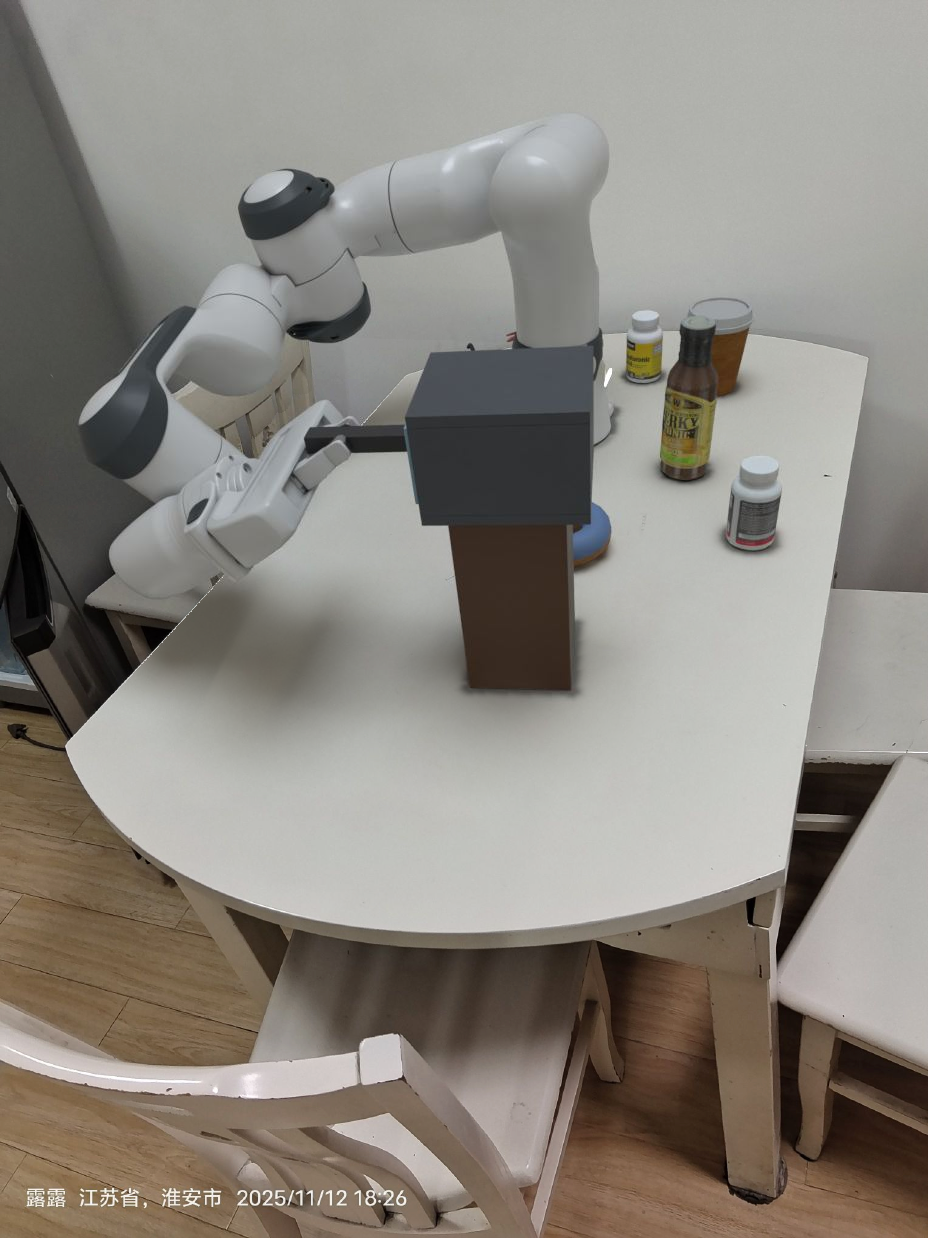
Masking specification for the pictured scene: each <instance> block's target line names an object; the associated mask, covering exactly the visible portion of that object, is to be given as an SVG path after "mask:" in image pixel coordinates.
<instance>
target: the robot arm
mask: <svg viewBox="0 0 928 1238" xmlns="http://www.w3.org/2000/svg"><path fill="white" fill-rule="evenodd" d="M609 166H610V146H609V141H608V137H607V135H606V133H605V132H604V130H603V127H601V125H600V124H599V123H598V122H597V121H596V120H594V119H593V118H592V117H590V116H588V115H587V114H583V113H579V112H561V113H557V114H553V115H549V116H546V117H542V118H539V119H535V120H531V121H528V122H526V123H521V124H519V125H516V126H511V127H509V128H505V129H503V130H499V131H497V132H494V133H490V134H487V135H484V136H482V137H479V138H475V139H473V140H469V141H466V142H464V143H461V144H457V145H454V146H450V147H446V148H442V149H438V150H434V151H429V152H426V153H421V154H417V155H412V156H408V157H404V158H401V159H397V160H393V161H390V162H386V163H382V164H379V165H377V166H374V167H372V168H369V169H367V170H364V171H362V172H360V173H357V174H355V175H354V176H352V177H350V178H347V179H346V180H344V181H342V182H341V183H339V185H337V187H335V185H334V183H332V181H330V180H329V179H328V178H325V177H320V176H315V175H313V174H312V173H310V172H307V171H303V170H300V169H296V168H281V169H277V170H274V171H271V172H268V173H266V174H264V175H262V176H260V177H258V178H257V179H256V180H255V181H254V182H252V183H251V184H249V186H248V187H247V188H246V189H245V190H244V191H243V193H242V195H241V197H240V200H239V202H238V204H237V211H238V217H239V220H240V223H241V226H242V228H243V231H244V234H245V236H246V238H248V239H250V241H251V244H252V247H253V250H254V251H255V253H256V256H257V258H258V260H259V261H260V265H259V266H258V265H257V264H256V265H255V264H252V263H245V262H241V263H235V264H231V265H228V266H226V267H224V268H223V269H221V270H220V271H219V272H218V273H217V275H216V276H215V277H214V278H213V279H212V280H211V282H210V283H209V285H208V286H207V288H206V289H205V291H204V293H203V294H202V296H201V298H200V300H199V303H198V305H197V307H193V306H189V305H182V306H180V307H178V308H176V309H175V310H173V311H171V312H170V313H168V314H167V315H166V316H165V317H164V318H162V319H161V321H160V322H158V323H157V324H156V326H155V327H153V329H151V331H150V332H149V333H148V334H147V336H146V337H145V338H144V339H143V340H142V341H141V342H140V344H139V345H138V346H137V347H136V348H135V350H134V351H133V352H132V354H131V355H130V356H129V358H127V360H126V361H125V363H124V364H123V365H122V366H121V368H119V370H118V371H117V372H116V374H114V376H113V378H112V379H110V381H108V382H107V383H105V385H103V386H102V387H100V388H99V389H98V391H96V392H95V393H94V394H93V395H92V396H91V398H89V400H88V401H87V403H86V404H85V406H84V407H83V409H82V410H81V413H80V415H79V418H78V421H77V423H76V429H77V435H78V441H79V444H80V448H81V451H82V453H83V455H84V458H85V460H86V461H87V462H88V463H90V464H92V465H94V466H95V467H97V468H98V469H100V470H102V471H104V472H105V473H107V474H109V475H111V476H112V477H114V478H116V479H118V480H121V481H122V482H124V483H125V484H127V485H128V486H130V487H131V488H132V489H133V490H135V491H137V492H138V493H140V494H141V495H143V497H145V498H146V499H148V500H150V502H153V503H154V505H152V506H151V507H150V508H148V509H147V510H146V511H144V512H143V513H142V514H141V515H139V516H138V517H137V518H136V519H134V520H133V521H132V522H130V523H129V524H128V526H126V527H125V528H124V529H123V530H122V531H121V532H120V533H119V535H118V536H117V537H116V538H115V539H114V540H113V541H112V543H111V544H110V547H109V549H108V558H109V562H110V565H111V567H112V569H113V571H114V573H115V575H116V576H117V578H118V579H119V580H120V581H121V582H122V583H123V584H124V585H125V586H126V587H128V588H129V589H131V590H132V591H134V592H135V593H137V594H139V595H140V596H142V597H144V598H146V599H149V600H165V599H170V598H173V597H177V596H179V595H182V594H184V593H186V592H189V591H191V590H193V589H194V588H197V587H198V586H200V585H202V584H204V583H205V582H208V581H209V580H211V579H213V578H214V577H216V576H218V575H219V574H220V573H222V574H223V575H224V576H226V577H227V578H228V579H229V580H231V582H237V581H239V580H241V579H243V578H245V577H246V576H248V575H249V574H250V573H251V571H252V570H253V568H254V566H256V565H258V564H259V563H261V562H262V561H264V560H265V559H267V558H269V557H270V556H271V555H273V554H274V553H275V552H277V551H279V550H280V549H281V548H282V547H284V546H285V545H286V544H287V542H288V541H289V540H290V539H291V538H292V537H293V536H294V534H295V533H296V532H297V529H298V527H299V525H300V523H301V522H302V519H303V517H304V515H305V513H306V511H307V509H308V508H309V505H310V503H311V501H312V499H313V497H314V496H315V493H316V491H317V489H318V487H319V485H320V484H321V483H322V482H323V481H324V480H325V479H326V478H327V477H328V476H329V475H330V474H331V473H332V472H333V471H334V470H335V469H336V468H337V467H338V466H340V465H341V464H343V463H345V462H346V461H348V460H349V458H350V457H351V454H352V453H351V452H352V450H353V446H352V444H351V443H350V442H348V440H347V438H346V437H345V436H343V435H338V436H336V437H335V438H334V439H332V440H330V441H329V442H327V443H326V445H325V447H324V448H322V449H321V450H320V451H318V452H317V453H315V454H307V450H306V446H305V442H304V436H305V435H306V433H307V431H308V429H309V428H310V427H334V426H362V425H361V424H360V422H359V421H358V420H357V419H356V417H354V416H352V415H347V416H346V417H345V418H344V416H343V415H342V414H341V413H340V412H339V410H338V409H337V408H336V407H335V405H333V403H332V402H331V401H329V400H328V399H321V400H318V401H317V402H315V403H314V404H312V405H311V406H309V407H308V408H307V409H305V410H304V411H303V412H301V413H300V414H298V415H297V416H296V417H294V418H293V419H292V420H291V421H289V422H288V423H286V424H284V426H283V427H281V428H280V429H279V430H278V431H277V432H276V433H275V434H274V435H273V436H272V437H271V439H269V441H268V442H267V444H266V446H265V447H264V449H263V450H262V452H261V453H260V455H259V457H258V458H253V457H252V458H250V457H248V456H246V455H245V454H244V453H243V452H242V451H240V449H238V448H237V447H235V445H233V444H232V443H231V442H229V441H228V440H227V439H226V438H224V437H223V436H222V435H221V434H220V433H218V432H217V431H215V430H214V429H212V427H210V426H209V425H208V424H207V423H206V422H204V420H202V419H200V418H199V417H198V416H197V415H196V414H194V413H193V412H191V410H189V409H188V408H186V406H184V405H183V404H182V403H181V402H180V401H178V399H177V398H176V397H175V396H174V395H173V393H172V392H171V391H170V390H169V388H168V387H167V383H168V382H169V380H170V379H171V377H173V375H174V374H176V375H178V376H180V377H182V378H184V379H186V380H188V381H189V382H192V383H193V384H195V385H197V386H198V387H200V388H202V389H203V390H204V391H207V392H209V393H211V394H215V395H218V396H223V397H244V396H249V395H251V394H252V395H253V394H254V393H256V392H258V391H260V390H262V389H264V388H265V387H266V386H267V385H269V383H270V382H271V381H272V380H273V378H274V377H275V375H276V373H277V371H278V369H279V367H280V364H281V361H282V357H283V351H284V346H285V341H286V340H285V339H286V334H287V335H288V336H290V337H291V338H292V339H295V340H299V341H309V342H311V343H316V344H335V343H340V342H342V341H345V340H347V339H349V338H351V337H353V336H354V335H356V334H358V332H359V331H361V330H362V328H363V327H364V326H365V324H366V323H367V321H368V319H369V318H370V316H371V313H372V306H371V298H370V295H369V291H368V287H367V284H366V282H364V281H363V280H362V277H361V276H362V275H361V273H360V271H359V268H358V265H357V262H356V260H355V259H357V258H359V257H397V256H398V257H399V256H407V255H412V254H419V253H422V252H423V253H424V252H430V251H434V250H439V249H446V248H451V247H455V246H460V245H466V244H471V243H475V242H477V241H479V240H482V239H484V238H486V237H489V236H492V235H494V234H497V233H501V237H502V241H503V244H504V249H505V252H506V253H505V254H506V256H507V260H508V264H509V269H510V272H511V279H512V287H513V301H514V315H515V316H514V317H515V318H514V319H515V331H513V332H511V333H510V332H509V333H508V334H506V335H505V337H509V338H508V339H507V340H506V343H511V342H512V345H511V349H525V348H548V347H572V346H593V378H594V445H596V444H598V443H600V442H601V441H603V440H604V439H605V438H606V437H607V436H608V435H609V434H610V432H611V430H612V423H611V418H612V416H613V414H614V412H615V409H614V403H613V402H611V401H610V399H609V390H608V383H609V380H610V378H611V376H612V373H613V368H609V369H608V371H607V370H606V369H607V368H606V363H605V360H604V359H603V357H604V338H603V330H602V328H601V327H600V269H599V266H598V264H597V263H596V258H595V252H594V245H593V240H592V234H591V220H590V216H591V208H592V203H593V201H594V199H596V197H597V195H598V194H599V193H600V192H601V190H602V188H603V187H604V185H605V182H606V179H607V176H608V174H609V173H608V172H609ZM466 349H468V350H469V351H476V348H475V346H474V345H473V343H472V342H469V343H468V344H467V345H466Z"/></svg>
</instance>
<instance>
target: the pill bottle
mask: <svg viewBox="0 0 928 1238" xmlns="http://www.w3.org/2000/svg"><path fill="white" fill-rule="evenodd" d="M779 470H780V465H779V462H778V461H777V460H776V459H774V458H773V457H770V456H766V455H752V456H748V457H746V458H744V459H743V460H742V461H741V462H740V467H739V473H738V474H739V475H738V476H736V477H735V478H734V479H733V480H732V483H731V486H730V494H729V503H728V510H727V512H728V513H727V520H726V529H725V537H726V540H727V542H728V543H729V544H731V545H732V546H733V547H736V548H738V549H740V550H746V551H759V550H764V549H766V548H768V547H770V546H771V545H772V544H773V542H775V541H774V540H775V536H776V530H777V524H778V518H779V512H780V504H781V500H782V499H781V498H782V494H783V486H782V483H781V481H780V479H778V476H779Z"/></svg>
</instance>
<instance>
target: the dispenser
mask: <svg viewBox="0 0 928 1238" xmlns="http://www.w3.org/2000/svg"><path fill="white" fill-rule="evenodd" d="M404 421H405V424H406V428H407V434H408V441H409V447H410V453H411V460H412V466H413V472H414V479H415V485H416V491H417V498H418V504H417V505H418V509H419V515H420V522H421V523H420V524H421V526H422V527H444V526H445V527H447V528H448V535H449V543H450V550H451V556H452V557H451V558H452V564H453V573H454V581H455V587H456V588H455V589H456V594H457V601H458V610H459V616H460V617H459V618H460V624H461V632H462V639H463V648H464V653H465V661H466V669H467V677H468V684H469V688H470V689H496V690H497V689H503V690H536V691H537V690H539V691H540V690H543V691H545V690H546V691H549V690H550V691H571V690H572V683H573V665H574V649H575V648H574V647H575V633H576V632H575V631H576V630H575V628H576V608H575V605H576V604H575V566H574V557H573V533H574V529H573V525H590V524H591V506H592V502H593V481H594V480H593V478H594V458H595V457H594V455H595V451H594V450H595V448H594V447H595V444H594V378H593V346H572V347H548V348H525V349H512V348H507V349H506V348H504V349H481V350H479V349H478V350H475V351H471V350H455V351H454V350H453V351H434V352H433V351H432V352H431V351H430V353H429V355H428V358H427V360H426V363H425V365H424V368H423V370H422V372H421V375H420V377H419V380H418V383H417V385H416V388H415V391H414V393H413V395H412V398H411V400H410V403H409V405H408V408H407V411H406V412H405V415H404Z"/></svg>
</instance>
